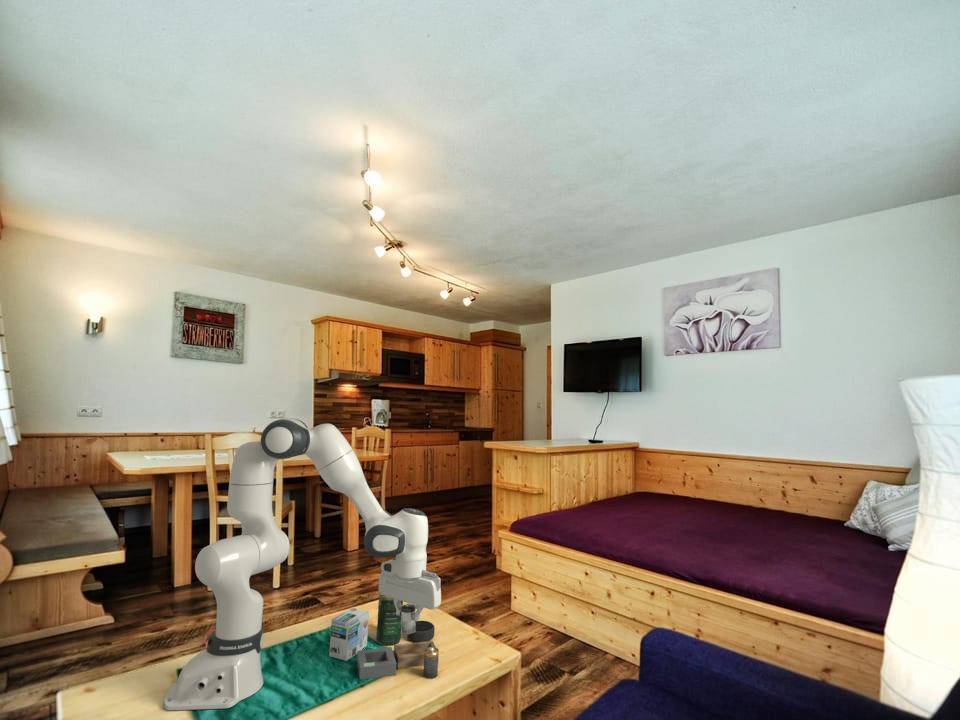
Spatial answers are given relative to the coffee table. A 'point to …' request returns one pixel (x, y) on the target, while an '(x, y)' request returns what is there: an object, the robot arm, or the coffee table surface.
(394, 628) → the coffee jar
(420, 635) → the smart speaker
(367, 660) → the cradle
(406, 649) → the trough
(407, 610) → the steel cell
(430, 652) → the copper cell
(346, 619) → the light bulb box
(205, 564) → the robot arm
